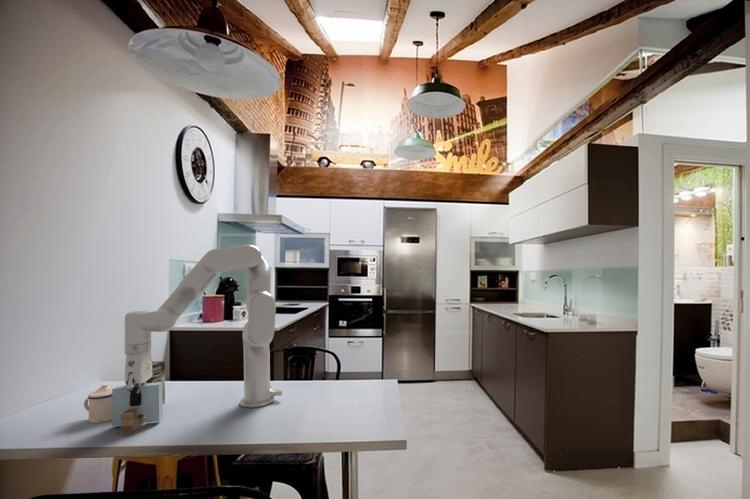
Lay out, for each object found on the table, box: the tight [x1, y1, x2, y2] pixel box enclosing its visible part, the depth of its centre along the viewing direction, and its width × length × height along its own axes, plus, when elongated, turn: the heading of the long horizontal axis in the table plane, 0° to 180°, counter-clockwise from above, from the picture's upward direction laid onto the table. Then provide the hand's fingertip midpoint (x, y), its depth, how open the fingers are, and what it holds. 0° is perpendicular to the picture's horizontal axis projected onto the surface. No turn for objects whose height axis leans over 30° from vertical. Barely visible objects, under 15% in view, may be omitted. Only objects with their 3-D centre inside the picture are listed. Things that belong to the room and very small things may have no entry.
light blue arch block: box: [111, 382, 164, 427], centre depth 121 cm, size 14×3×12 cm, turn 101°
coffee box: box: [134, 361, 166, 404], centre depth 137 cm, size 9×6×16 cm
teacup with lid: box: [83, 383, 114, 424], centre depth 127 cm, size 12×9×12 cm
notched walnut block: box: [120, 408, 146, 437], centre depth 121 cm, size 16×3×6 cm, turn 11°
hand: (138, 403), depth 121 cm, fingers closed on light blue arch block, 3 cm apart
